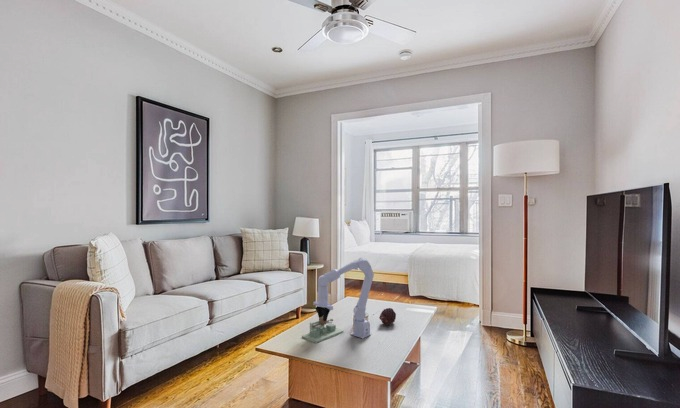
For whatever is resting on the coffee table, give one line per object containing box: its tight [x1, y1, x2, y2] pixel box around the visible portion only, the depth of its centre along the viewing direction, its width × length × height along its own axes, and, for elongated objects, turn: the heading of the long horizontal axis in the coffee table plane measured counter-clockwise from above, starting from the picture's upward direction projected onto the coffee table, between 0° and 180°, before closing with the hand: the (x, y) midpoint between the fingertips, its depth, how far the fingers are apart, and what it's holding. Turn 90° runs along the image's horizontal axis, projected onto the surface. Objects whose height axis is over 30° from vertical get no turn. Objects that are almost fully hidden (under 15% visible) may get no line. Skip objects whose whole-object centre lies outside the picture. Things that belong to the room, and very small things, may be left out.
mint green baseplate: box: [301, 319, 344, 344], centre depth 205 cm, size 12×22×7 cm, turn 137°
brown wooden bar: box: [312, 316, 334, 328], centre depth 205 cm, size 4×16×4 cm, turn 137°
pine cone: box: [379, 307, 397, 326], centre depth 224 cm, size 18×10×10 cm, turn 153°
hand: (323, 319), depth 205 cm, fingers closed on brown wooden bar, 3 cm apart
